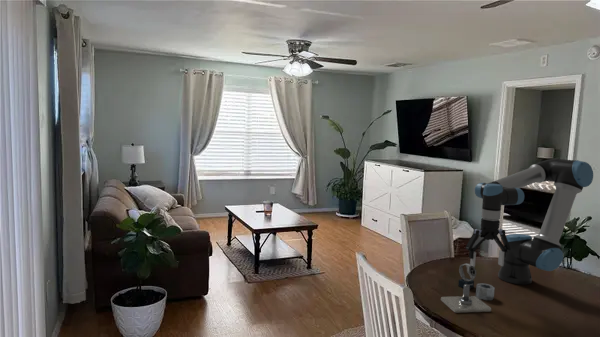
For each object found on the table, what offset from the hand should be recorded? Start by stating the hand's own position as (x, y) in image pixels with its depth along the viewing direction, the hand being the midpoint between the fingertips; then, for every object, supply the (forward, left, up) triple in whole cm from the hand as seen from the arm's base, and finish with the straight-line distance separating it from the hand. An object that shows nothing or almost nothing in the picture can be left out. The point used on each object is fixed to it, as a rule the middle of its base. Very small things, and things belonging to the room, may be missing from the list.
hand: (486, 265), depth 185 cm
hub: (0, 0, -15) cm, 15 cm away
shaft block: (+14, +8, -15) cm, 22 cm away
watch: (+2, -12, -15) cm, 19 cm away
